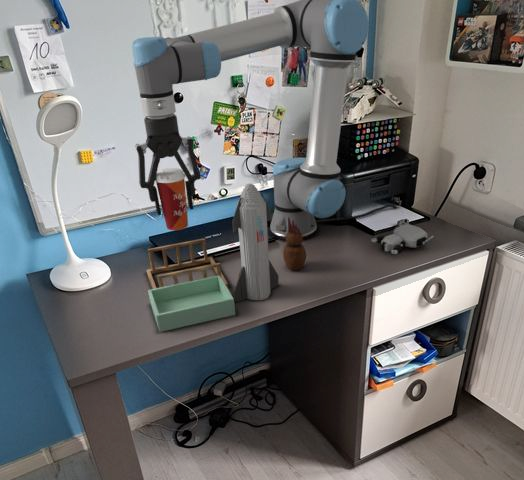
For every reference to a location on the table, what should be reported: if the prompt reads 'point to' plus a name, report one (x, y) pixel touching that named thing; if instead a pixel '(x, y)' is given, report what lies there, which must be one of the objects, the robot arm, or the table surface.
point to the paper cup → (173, 197)
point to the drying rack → (182, 265)
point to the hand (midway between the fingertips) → (174, 210)
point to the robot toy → (402, 238)
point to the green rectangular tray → (191, 303)
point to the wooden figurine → (294, 248)
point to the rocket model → (253, 246)
